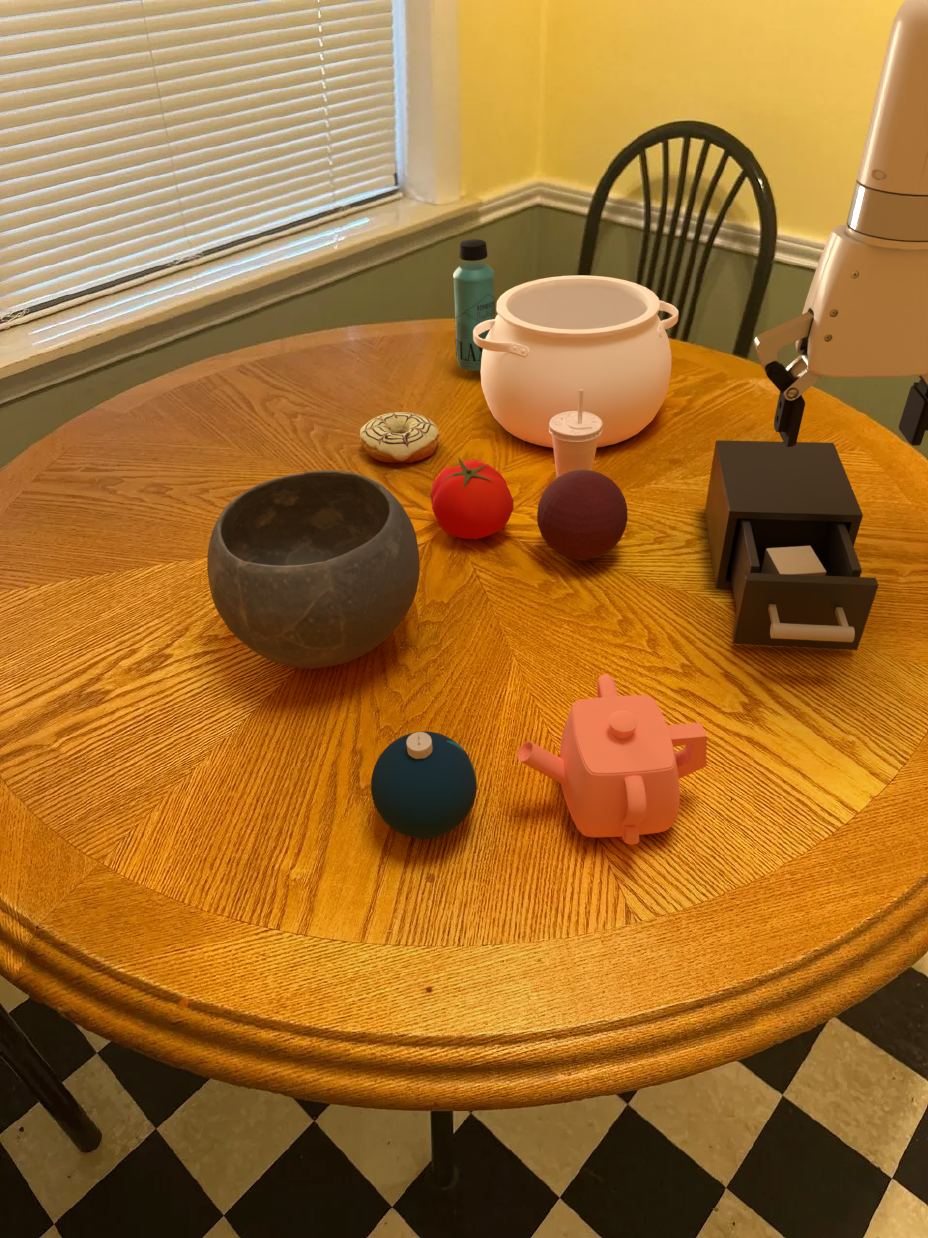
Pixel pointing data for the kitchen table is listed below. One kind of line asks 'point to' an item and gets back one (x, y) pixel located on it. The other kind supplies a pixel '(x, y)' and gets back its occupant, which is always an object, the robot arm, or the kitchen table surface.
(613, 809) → the teapot
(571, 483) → the decorative ball
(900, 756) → the kitchen table surface
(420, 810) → the christmas ornament
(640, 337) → the pot
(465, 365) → the beverage bottle
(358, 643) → the bowl
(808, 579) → the drawer
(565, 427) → the smoothie
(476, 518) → the tomato
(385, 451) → the decorated donut
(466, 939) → the kitchen table surface
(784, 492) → the cabinet
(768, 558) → the block
